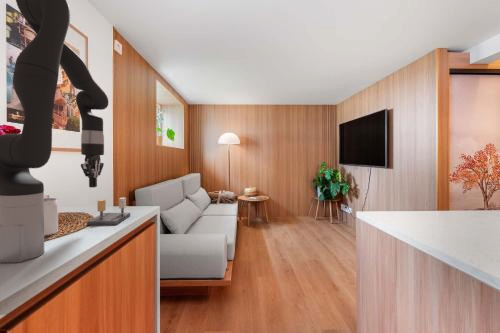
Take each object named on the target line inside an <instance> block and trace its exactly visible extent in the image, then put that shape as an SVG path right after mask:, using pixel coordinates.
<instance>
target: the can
mask: <svg viewBox="0 0 500 333" xmlns="http://www.w3.org/2000/svg"><path fill="white" fill-rule="evenodd" d="M58 232H59V203H58V202H57V198H54V197H53V198H52V197H51V198H50V197H49V198H44V237H47V236H46V235H48V236H53V235H55V234H57V233H58ZM52 234H53V235H52Z"/></svg>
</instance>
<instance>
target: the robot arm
mask: <svg viewBox="0 0 500 333" xmlns="http://www.w3.org/2000/svg"><path fill="white" fill-rule="evenodd" d="M15 3H16V5H17V8H18V10H19V12H20V14H21V15H22V17H23V18H24V19H25V21H26V22H27V23H28V25H29V27H31V29H32V30H33V31H34V32H35V34H36V35H35V36H34V37H33V39H32V40H31V41H30V42H29V43H28V44H27V45H26V46H25V47H24V48H23V49H22V50H21V52H20V53H19V54H18V55H17V57H16V61H15V63H14V70H13V74H12V75H13V76H12V86H13V89H14V92H15V94H16V97H17V99H18V100H19V102H20V104H21V107H22V108H23V109H22V110H23V117H24V118H23V125H22V126H23V127H22V130H21V133H4V134H0V264H2V263H5V264H6V263H22V262H25V261H28V260H32V259H34V258H37V257H39V256H42V255H43V254H44V252H45V236H44V199H45V193H44V192H45V185H44V183H43V181H41V180H39V179H37V178H36V177H34V176H33V175H32V174H31V172H30V169H39V168H42V167H44V166H46V164H47V163H48V162H49V160H50V159H51V155H52V154H51V153H52V147H53V146H52V144H53V117H54V106H55V97H56V94H57V93H56V92H57V87H58V80H59V71H60V67H61V68H62V69H63V72H64V73H65V75H66V77H67V78H68V81H69V82H70V83H71V85H72V86H73V87H74V88H75V89H76V90H79V92H77V94H76V97H75V102H76V106H77V108H78V113H79V115H80V119H81V135H80V143H81V144H80V145H81V146H80V152H81V155H83V156H85V157H84V163H80V168H81V170H82V171H83V174H84V176H85V177H87V178H88V187H89V188H97V187H98V177H99V176H101V174H102V171H103V168H104V163H103V162H102V161H101V156H104V155H105V136H104V119H103V118H102V117H101V116H99V115H95V114H94V113H93V112H92V110H93V111H94V110H95V111H96V110H97V111H98V110H101V111H102V110H105V109H107V108H108V106H109V97H108V95H107V94H106V92H105V91H104V90H103V89H102V87H100V85H99V84H98V83H97V82H96V81H95V80H94V78H93V76H92V74H91V72H90V70H89V68H88V66H87V65H86V63H85V62H84V60H83V59H82V58H81V57H80V55H79V54H78V53H76V51H74V50H73V49H72V48H71V47H70V46H69V45H67V44H66V43H65V41H66V36H67V35H68V34H67V33H68V29H69V28H70V22H71V9H70V8H71V7H70V5H69V2H68V0H15Z"/></svg>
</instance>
